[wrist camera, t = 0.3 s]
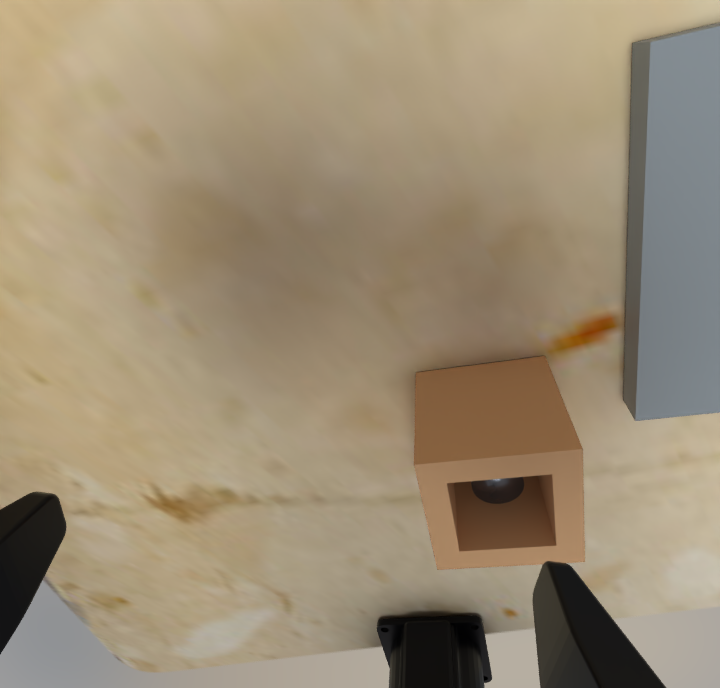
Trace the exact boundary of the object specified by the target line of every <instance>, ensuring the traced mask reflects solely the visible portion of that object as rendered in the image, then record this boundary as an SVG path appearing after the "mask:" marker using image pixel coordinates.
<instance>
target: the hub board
mask: <svg viewBox="0 0 720 688" xmlns="http://www.w3.org/2000/svg"><path fill="white" fill-rule="evenodd" d="M623 400H624V402H625V404H626V406H627V407H628V409H629V411H630V412H631V414H632V416H633V418H634V419H635V421H640V420H650V419H660V418H669V417H679V416H689V415H699V414H709V413H719V412H720V22H719V23H715V24H710V25H706V26H702V27H698V28H693V29H689V30H685V31H681V32H676V33H672V34H668V35H664V36H659V37H655V38H651V39H647V40H642V41H638V42H634V43H632V78H631V117H630V156H629V195H628V234H627V274H626V313H625V352H624V391H623Z"/></svg>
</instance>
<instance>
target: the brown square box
mask: <svg viewBox="0 0 720 688" xmlns="http://www.w3.org/2000/svg"><path fill="white" fill-rule="evenodd" d="M414 466H415V471H416V475H417V480H418V484H419V489H420V493H421V498H422V502H423V507H424V511H425V516H426V520H427V525H428V529H429V534H430V538H431V543H432V547H433V552H434V556H435V561H436V565H437V570H442V569H461V568H480V567H499V566H518V565H536V564H544V563H545V562H546V561H553V562H561V563H574V562H585V539H584V490H583V449H582V446H581V444H580V441H579V439H578V436H577V434H576V431H575V429H574V426H573V424H572V421H571V419H570V417H569V414H568V412H567V409H566V407H565V404H564V402H563V399H562V397H561V394H560V392H559V389H558V387H557V384H556V382H555V380H554V377H553V375H552V372H551V370H550V367H549V365H548V362H547V360H546V357H545V356H541V357H533V358H525V359H517V360H510V361H502V362H494V363H486V364H479V365H471V366H463V367H455V368H447V369H440V370H432V371H424V372H416V390H415V445H414ZM515 477H523V480H524V489H523V491H522V493H521V494H520V495H519V496H518V497H517V498H516V499H514V500H513V501H510V502H507V503H503V504H492V503H487V502H484V501H482V500H481V499H479V498H478V497H477V496H476V495H475V494H474V493H473V490H472V485H471V481H480V480H491V479H503V478H515Z"/></svg>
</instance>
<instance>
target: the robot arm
mask: <svg viewBox="0 0 720 688" xmlns="http://www.w3.org/2000/svg"><path fill="white" fill-rule="evenodd" d="M65 533H66V521H65V518H64V514H63V511H62V507H61V504H60V501H59V498H58V497H57V496H56V495H55V494H51V493H44V492H32V493H30V494H28V495H26V496H24V497H22V498H20V499H19V500H17V501H15V502H13V503H11V504H10V505H8V506H6V507H4V508H2V509H1V510H0V654H1V652H2V651H3V649H4V648H5V646H6V644H7V643H8V641H9V640H10V638H11V636H12V635H13V633H14V632H15V630H16V628H17V627H18V625H19V623H20V622H21V620H22V618H23V617H24V614H25V613H26V611H27V609H28V607H29V606H30V604H31V602H32V600H33V597H34V596H35V594H36V592H37V590H38V588H39V586H40V583H41V582H42V580H43V578H44V576H45V574H46V572H47V570H48V568H49V566H50V564H51V562H52V560H53V558H54V556H55V554H56V552H57V550H58V548H59V546H60V544H61V542H62V540H63V538H64V536H65ZM533 611H534V622H535V633H536V644H537V655H538V665H539V677H540V686H541V688H666V687H665V686H664V684H663V683H662V682H661V680H660V679H659V678H658V677H657V675H656V674H655V673H654V671H653V670H652V669H651V668H650V666H649V665H648V664H647V662H646V661H645V660H644V659H643V657H642V656H641V655H640V653H639V652H638V651H637V650H636V648H635V647H634V646H633V644H632V643H631V642H630V641H629V639H628V638H627V637H626V636H625V634H624V633H623V632H622V630H621V629H620V628H619V627H618V625H617V624H616V623H615V622H614V620H613V619H612V618H611V616H610V615H609V614H608V612H607V611H606V610H605V609H604V607H603V606H602V605H601V604H600V602H599V601H598V600H597V598H596V597H595V596H594V595H593V593H592V592H591V591H590V589H589V588H588V587H587V586H586V584H585V583H584V582H583V580H582V579H581V578H580V577H579V575H578V574H577V573H576V572H575V570H574V569H573V568H572V567H571V566H570V565H568V564H566V563H561V562H553V561H546V562H545V563H544V564H543V566H542V569H541V571H540V574H539V577H538V580H537V582H536V585H535V588H534V592H533ZM377 632H378V635H379V638H380V641H381V644H382V647H383V650H384V653H385V656H386V659H387V661H388V665H389V667H390V677H389V688H484V683H486V682H490V681H491V680H492V675H491V668H490V662H489V657H488V651H487V645H486V640H485V633H484V628H483V622H482V619H481V618H480V617H477V616H453V617H425V618H397V619H381V620H379V621H378V622H377Z"/></svg>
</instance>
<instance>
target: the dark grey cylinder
mask: <svg viewBox="0 0 720 688" xmlns="http://www.w3.org/2000/svg"><path fill="white" fill-rule="evenodd" d="M471 485H472V490H473V493H474V494H475V495H476V496H477V497H478V498H479V499H481V500H482V501H484V502H487V503H492V504H503V503H507V502H510V501H513V500H514V499H516V498H517V497H518V496H519V495H520V494H521V493H522V491H523V489H524V480H523V477H515V478H503V479H491V480H480V481H471Z"/></svg>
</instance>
